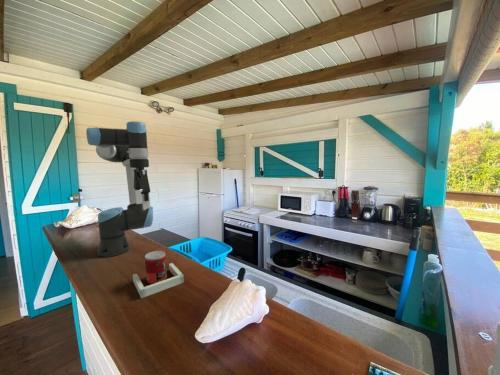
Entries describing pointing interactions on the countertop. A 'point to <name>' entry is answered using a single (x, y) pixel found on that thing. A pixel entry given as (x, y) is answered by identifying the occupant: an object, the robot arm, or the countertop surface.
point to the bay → (160, 285)
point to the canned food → (155, 267)
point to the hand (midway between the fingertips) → (142, 206)
